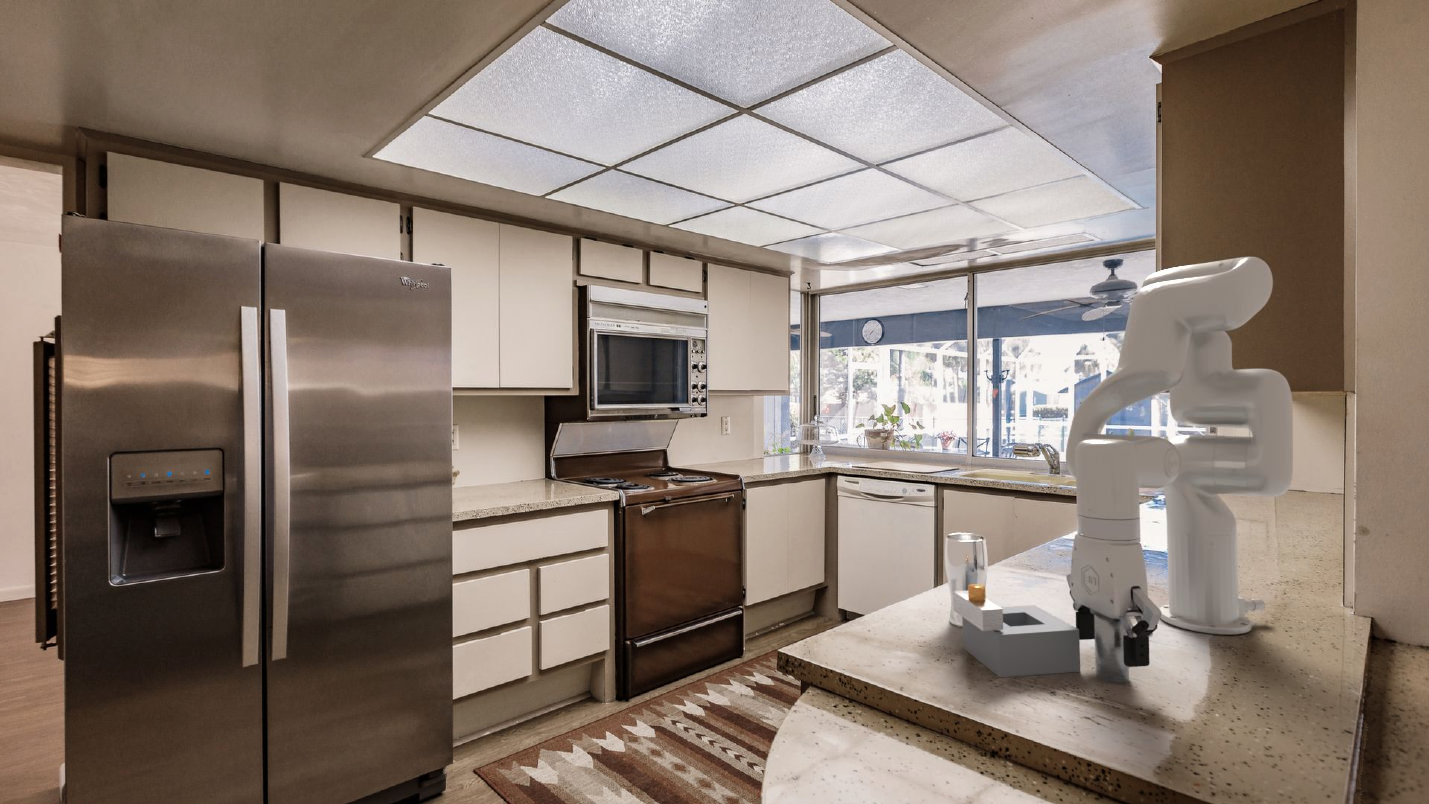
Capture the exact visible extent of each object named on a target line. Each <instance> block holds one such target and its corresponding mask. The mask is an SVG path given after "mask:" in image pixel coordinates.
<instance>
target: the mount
mask: <svg viewBox="0 0 1429 804" xmlns="http://www.w3.org/2000/svg"><path fill="white" fill-rule="evenodd" d="M999 607H1000V606H999ZM1000 608H1002V609H1003V630H994V631H982V630H981V629H979V628H978V627H976V626H975V625H974V624H972V623H971V622H969V621H968V620H967V619H965V618H964V617H962V624H963V628H962V646H963V647H962V648H963V649H964V650H966V651H967V652H968V653H969V654H970V655H972V656H973V657H974V658H975V659H977V661H979V662H980V663H981V664H983V666H985V667H986V668H987V669H989V671H991V672H993V674H995V675H996V676H997V677H999V678H1012V677H1025V676H1035V675H1036V676H1037V675H1038V676H1039V675H1050V674H1060V673H1061V674H1062V673H1063V674H1064V673H1077V672H1078V673H1079V672H1081V652H1080V651H1081V650H1080V649H1081V647H1080V646H1081V643H1080V641H1081V640H1079V629H1077V628H1076V626H1074V625H1071V624H1070V623H1068V622H1066V621H1064V620H1062V619H1061V618H1059V617H1057V616H1055V615H1054V614H1051V613H1050V612H1047V611H1046V610H1045V609H1042V608H1041V607H1038V606H1037V605H1034V604H1031V605H1019V606H1018V605H1015V606H1001V607H1000Z"/></svg>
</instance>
